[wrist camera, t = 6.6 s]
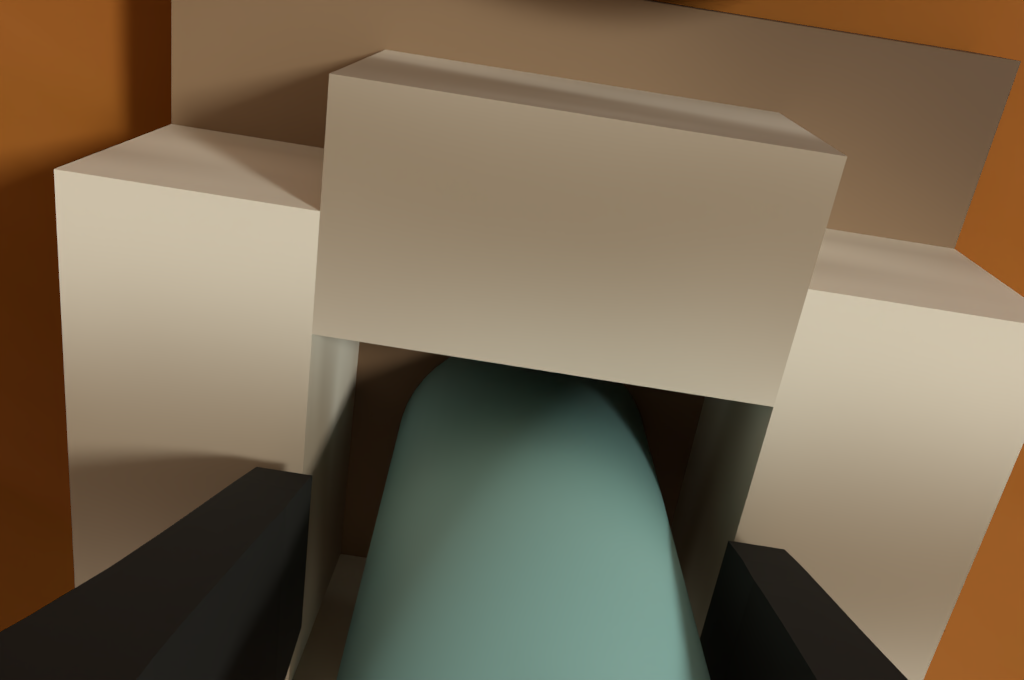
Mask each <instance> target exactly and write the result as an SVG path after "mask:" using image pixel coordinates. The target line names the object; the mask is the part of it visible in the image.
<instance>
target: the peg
mask: <svg viewBox="0 0 1024 680" xmlns="http://www.w3.org/2000/svg"><path fill="white" fill-rule="evenodd" d="M336 680H711V679H710V676H709V672H708V668H707V664H706V661H705V657H704V653H703V649H702V646H701V642H700V638H699V634H698V630H697V627H696V623H695V619H694V615H693V612H692V608H691V604H690V600H689V596H688V593H687V589H686V585H685V581H684V578H683V574H682V570H681V566H680V563H679V559H678V555H677V551H676V547H675V544H674V540H673V536H672V532H671V529H670V525H669V521H668V517H667V513H666V510H665V506H664V502H663V498H662V495H661V491H660V487H659V483H658V480H657V476H656V472H655V468H654V464H653V461H652V457H651V453H650V449H649V446H648V442H647V438H646V434H645V430H644V427H643V423H642V419H641V415H640V413H639V410H638V408H637V406H636V403H635V401H634V399H633V398H632V396H631V394H630V393H629V391H628V390H627V388H626V387H625V386H624V384H623V383H618V382H612V381H606V380H599V379H593V378H587V377H580V376H574V375H568V374H561V373H555V372H549V371H542V370H536V369H530V368H523V367H517V366H511V365H504V364H498V363H492V362H485V361H479V360H473V359H466V358H460V357H454V356H452V357H450V358H448V359H447V360H445V361H444V362H443V363H441V364H440V365H439V366H437V367H436V368H435V369H434V370H433V371H432V372H431V373H429V374H428V375H427V376H426V377H425V378H424V379H423V381H422V382H421V383H420V385H419V386H418V387H417V388H416V390H415V391H414V393H413V395H412V396H411V398H410V400H409V401H408V403H407V406H406V408H405V411H404V413H403V416H402V419H401V423H400V427H399V431H398V435H397V439H396V443H395V447H394V451H393V455H392V459H391V463H390V467H389V471H388V475H387V479H386V483H385V487H384V491H383V495H382V499H381V503H380V507H379V511H378V515H377V519H376V523H375V527H374V531H373V535H372V539H371V543H370V547H369V551H368V555H367V559H366V563H365V567H364V571H363V575H362V579H361V583H360V587H359V591H358V595H357V599H356V603H355V607H354V611H353V615H352V619H351V623H350V627H349V631H348V635H347V639H346V643H345V647H344V651H343V655H342V659H341V663H340V667H339V671H338V675H337V679H336Z"/></svg>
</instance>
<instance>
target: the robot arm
mask: <svg viewBox="0 0 1024 680" xmlns="http://www.w3.org/2000/svg"><path fill="white" fill-rule="evenodd" d="M311 489H312V475H306V474H300V473H294V472H287V471H281V470H274V469H268V468H262V467H255V468H254V469H252V470H251V471H249V472H248V473H246V474H245V475H243V476H242V477H240V478H239V479H237V480H236V481H234V482H233V483H232V484H230V485H229V486H227V487H226V488H224V489H223V490H221V491H220V492H219V493H217V494H216V495H214V496H213V497H211V498H210V499H209V500H207V501H206V502H204V503H203V504H202V505H200V506H199V507H197V508H196V509H195V510H193V511H192V512H190V513H189V514H187V515H186V516H184V517H183V518H182V519H180V520H179V521H177V522H176V523H174V524H173V525H172V526H170V527H169V528H167V529H166V530H164V531H163V532H161V533H160V534H158V535H157V536H155V537H154V538H152V539H151V540H149V541H148V542H146V543H145V544H143V545H142V546H140V547H139V548H137V549H136V550H134V551H133V552H131V553H130V554H129V555H127V556H126V557H124V558H123V559H121V560H120V561H118V562H117V563H115V564H114V565H112V566H111V567H109V568H107V569H106V570H104V571H102V572H101V573H99V574H97V575H96V576H94V577H93V578H91V579H89V580H88V581H86V582H84V583H83V584H81V585H79V586H78V587H76V588H74V589H73V590H71V591H69V592H68V593H66V594H64V595H63V596H61V597H59V598H58V599H56V600H54V601H53V602H51V603H50V604H48V605H46V606H45V607H43V608H41V609H40V610H38V611H36V612H35V613H33V614H31V615H30V616H28V617H26V618H25V619H23V620H21V621H19V622H17V623H16V624H14V625H12V626H10V627H8V628H7V629H5V630H3V631H1V632H0V680H285V678H286V675H287V672H288V669H289V666H290V662H291V659H292V656H293V653H294V650H295V646H296V643H297V640H298V637H299V634H300V630H301V627H302V614H303V600H304V586H305V573H306V559H307V545H308V531H309V517H310V503H311ZM700 642H701V646H702V649H703V653H704V657H705V661H706V664H707V668H708V672H709V676H710V679H711V680H908V679H907V678H906V677H905V676H904V675H903V674H902V673H901V672H900V671H899V670H898V669H897V667H896V666H895V665H894V664H893V663H892V662H891V661H890V660H889V659H888V658H887V657H886V656H885V655H884V654H883V653H882V652H881V651H880V650H879V649H878V647H877V646H876V645H875V644H874V643H873V642H872V641H871V640H870V639H869V638H868V637H867V636H866V635H865V634H864V633H863V631H862V630H861V629H860V628H859V627H858V626H857V625H856V624H855V623H854V622H853V621H852V620H851V619H850V617H849V616H848V615H847V614H846V613H845V612H844V611H843V610H842V609H841V608H840V607H839V606H838V604H837V603H836V602H835V601H834V600H833V599H832V598H831V597H830V596H829V595H828V594H827V593H826V591H825V590H824V589H823V588H822V587H821V586H820V585H819V584H818V583H817V582H816V581H815V580H814V579H813V578H812V576H811V575H810V574H809V573H808V572H807V571H806V570H805V569H804V568H803V567H802V566H801V565H800V564H799V563H798V562H797V561H796V560H795V559H794V558H793V557H792V556H791V555H790V554H789V553H788V552H787V551H786V550H785V549H779V548H773V547H767V546H760V545H754V544H747V543H741V542H735V541H728V543H727V547H726V550H725V554H724V557H723V561H722V564H721V568H720V571H719V574H718V578H717V581H716V585H715V588H714V592H713V595H712V598H711V602H710V605H709V609H708V612H707V616H706V619H705V622H704V626H703V629H702V633H701V636H700Z"/></svg>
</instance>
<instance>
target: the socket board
mask: <svg viewBox="0 0 1024 680" xmlns="http://www.w3.org/2000/svg"><path fill="white" fill-rule="evenodd" d="M1020 62H1021V61H1016V60H1011V59H1006V58H1001V57H995V56H990V55H985V54H980V53H974V52H968V51H962V50H955V49H949V48H943V47H937V46H931V45H924V44H918V43H912V42H906V41H900V40H893V39H887V38H881V37H875V36H869V35H862V34H856V33H850V32H844V31H838V30H831V29H825V28H819V27H813V26H807V25H800V24H794V23H788V22H782V21H776V20H769V19H763V18H757V17H751V16H745V15H738V14H732V13H726V12H720V11H714V10H707V9H701V8H695V7H689V6H683V5H676V4H670V3H664V2H658V1H652V0H171V124H170V125H168V126H165V127H162V128H160V129H157V130H154V131H152V132H149V133H147V134H144V135H141V136H139V137H136V138H134V139H131V140H128V141H126V142H123V143H121V144H118V145H115V146H113V147H110V148H107V149H105V150H102V151H100V152H97V153H94V154H92V155H89V156H87V157H84V158H81V159H79V160H76V161H74V162H71V163H68V164H66V165H63V166H60V167H58V168H55V169H54V184H55V204H56V223H57V243H58V262H59V282H60V302H61V321H62V341H63V361H64V380H65V400H66V420H67V439H68V459H69V479H70V498H71V518H72V538H73V557H74V577H75V588H76V587H78V586H79V585H81V584H83V583H84V582H86V581H88V580H89V579H91V578H93V577H94V576H96V575H97V574H99V573H101V572H102V571H104V570H106V569H107V568H109V567H111V566H112V565H114V564H115V563H117V562H118V561H120V560H121V559H123V558H124V557H126V556H127V555H129V554H130V553H131V552H133V551H134V550H136V549H137V548H139V547H140V546H142V545H143V544H145V543H146V542H148V541H149V540H151V539H152V538H154V537H155V536H157V535H158V534H160V533H161V532H163V531H164V530H166V529H167V528H169V527H170V526H172V525H173V524H174V523H176V522H177V521H179V520H180V519H182V518H183V517H184V516H186V515H187V514H189V513H190V512H192V511H193V510H195V509H196V508H197V507H199V506H200V505H202V504H203V503H204V502H206V501H207V500H209V499H210V498H211V497H213V496H214V495H216V494H217V493H219V492H220V491H221V490H223V489H224V488H226V487H227V486H229V485H230V484H232V483H233V482H234V481H236V480H237V479H239V478H240V477H242V476H243V475H245V474H246V473H248V472H249V471H251V470H252V469H254V468H255V467H262V468H268V469H274V470H281V471H287V472H294V473H300V474H306V475H312V489H311V503H310V517H309V531H308V545H307V559H306V573H305V586H304V600H303V614H302V627H301V630H300V634H299V637H298V640H297V643H296V646H295V650H294V653H293V656H292V659H291V662H290V666H289V669H288V672H287V675H286V678H285V680H336V679H337V675H338V671H339V667H340V663H341V659H342V655H343V651H344V647H345V643H346V639H347V635H348V631H349V627H350V623H351V619H352V615H353V611H354V607H355V603H356V599H357V595H358V591H359V587H360V583H361V579H362V575H363V571H364V567H365V563H366V559H367V555H368V551H369V547H370V543H371V539H372V535H373V531H374V527H375V523H376V519H377V515H378V511H379V507H380V503H381V499H382V495H383V491H384V487H385V483H386V479H387V475H388V471H389V467H390V463H391V459H392V455H393V451H394V447H395V443H396V439H397V435H398V431H399V427H400V423H401V419H402V416H403V413H404V411H405V408H406V406H407V403H408V401H409V400H410V398H411V396H412V395H413V393H414V391H415V390H416V388H417V387H418V386H419V385H420V383H421V382H422V381H423V379H424V378H425V377H426V376H427V375H428V374H429V373H431V372H432V371H433V370H434V369H435V368H436V367H437V366H439V365H440V364H441V363H443V362H444V361H445V360H447V359H448V358H450V357H452V356H454V357H460V358H466V359H473V360H479V361H485V362H492V363H498V364H504V365H511V366H517V367H523V368H530V369H536V370H542V371H549V372H555V373H561V374H568V375H574V376H580V377H587V378H593V379H599V380H606V381H612V382H618V383H623V384H624V386H625V387H626V388H627V390H628V391H629V393H630V394H631V396H632V398H633V399H634V401H635V403H636V406H637V408H638V410H639V413H640V415H641V419H642V423H643V427H644V430H645V434H646V438H647V442H648V446H649V449H650V453H651V457H652V461H653V464H654V468H655V472H656V476H657V480H658V483H659V487H660V491H661V495H662V498H663V502H664V506H665V510H666V513H667V517H668V521H669V525H670V529H671V532H672V536H673V540H674V544H675V547H676V551H677V555H678V559H679V563H680V566H681V570H682V574H683V578H684V581H685V585H686V589H687V593H688V596H689V600H690V604H691V608H692V612H693V615H694V619H695V623H696V627H697V630H698V634H699V638H700V636H701V633H702V629H703V626H704V622H705V619H706V616H707V612H708V609H709V605H710V602H711V598H712V595H713V592H714V588H715V585H716V581H717V578H718V574H719V571H720V568H721V564H722V561H723V557H724V554H725V550H726V547H727V543H728V541H735V542H741V543H747V544H754V545H760V546H767V547H773V548H779V549H785V550H786V551H787V552H788V553H789V554H790V555H791V556H792V557H793V558H794V559H795V560H796V561H797V562H798V563H799V564H800V565H801V566H802V567H803V568H804V569H805V570H806V571H807V572H808V573H809V574H810V575H811V576H812V578H813V579H814V580H815V581H816V582H817V583H818V584H819V585H820V586H821V587H822V588H823V589H824V590H825V591H826V593H827V594H828V595H829V596H830V597H831V598H832V599H833V600H834V601H835V602H836V603H837V604H838V606H839V607H840V608H841V609H842V610H843V611H844V612H845V613H846V614H847V615H848V616H849V617H850V619H851V620H852V621H853V622H854V623H855V624H856V625H857V626H858V627H859V628H860V629H861V630H862V631H863V633H864V634H865V635H866V636H867V637H868V638H869V639H870V640H871V641H872V642H873V643H874V644H875V645H876V646H877V647H878V649H879V650H880V651H881V652H882V653H883V654H884V655H885V656H886V657H887V658H888V659H889V660H890V661H891V662H892V663H893V664H894V665H895V666H896V667H897V669H898V670H899V671H900V672H901V673H902V674H903V675H904V676H905V677H906V678H907V679H908V680H923V679H924V677H925V674H926V672H927V669H928V667H929V665H930V662H931V660H932V658H933V655H934V653H935V651H936V648H937V646H938V643H939V641H940V639H941V636H942V634H943V632H944V629H945V627H946V625H947V622H948V620H949V618H950V615H951V613H952V610H953V608H954V606H955V603H956V601H957V599H958V596H959V594H960V592H961V589H962V587H963V584H964V582H965V580H966V577H967V575H968V573H969V570H970V568H971V566H972V563H973V561H974V558H975V556H976V554H977V551H978V549H979V547H980V544H981V542H982V540H983V537H984V535H985V533H986V530H987V528H988V525H989V523H990V521H991V518H992V516H993V514H994V511H995V509H996V507H997V504H998V502H999V499H1000V497H1001V495H1002V492H1003V490H1004V488H1005V485H1006V483H1007V481H1008V478H1009V476H1010V473H1011V471H1012V469H1013V466H1014V464H1015V462H1016V459H1017V457H1018V455H1019V452H1020V450H1021V448H1022V445H1023V443H1024V297H1022V296H1021V295H1019V294H1018V293H1017V292H1015V291H1014V290H1012V289H1011V288H1009V287H1008V286H1007V285H1005V284H1004V283H1002V282H1001V281H999V280H998V279H997V278H995V277H994V276H992V275H991V274H989V273H988V272H987V271H985V270H984V269H982V268H981V267H979V266H978V265H977V264H975V263H974V262H972V261H971V260H969V259H968V258H967V257H965V256H964V255H962V254H961V253H959V252H958V251H957V250H955V249H954V248H955V245H956V242H957V240H958V237H959V234H960V231H961V228H962V226H963V223H964V220H965V217H966V214H967V211H968V209H969V206H970V203H971V200H972V197H973V195H974V192H975V189H976V186H977V183H978V180H979V178H980V175H981V172H982V169H983V166H984V164H985V161H986V158H987V155H988V152H989V149H990V147H991V144H992V141H993V138H994V135H995V133H996V130H997V127H998V124H999V121H1000V118H1001V116H1002V113H1003V110H1004V107H1005V104H1006V102H1007V99H1008V96H1009V93H1010V90H1011V87H1012V85H1013V82H1014V79H1015V76H1016V73H1017V71H1018V68H1019V65H1020Z"/></svg>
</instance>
